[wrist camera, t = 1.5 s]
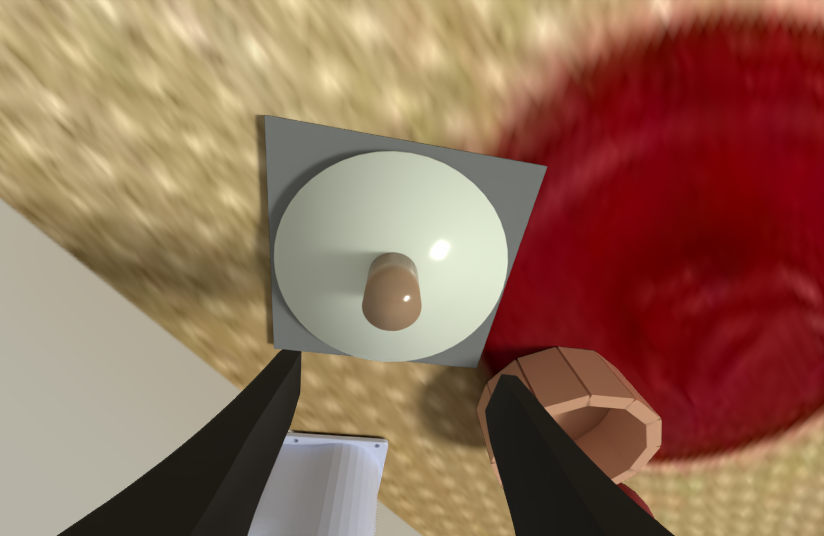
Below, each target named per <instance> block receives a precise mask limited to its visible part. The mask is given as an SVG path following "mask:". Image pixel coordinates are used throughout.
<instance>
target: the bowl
mask: <svg viewBox="0 0 824 536" xmlns="http://www.w3.org/2000/svg"><path fill="white" fill-rule="evenodd" d="M517 359H518V361H516V360H514V361H513V362H511V363H510V364H509V365H508V366H506V367H505V368H504V369H503V370H501V371H500V372H499V373H498V374H497V375H495V376H494V377H493V378H492V379H490V380H489V381H488V384H486V385H485V388H484V390H483V393H482V396H481V398H480V401H479V403H478V406H477V414H478V418H479V421H480V425H481V429H482V432H483V436H484V440H485V443H486V447H487V451H488V454H489V458H490V462H491V465H492V467H493V470H494V472H495V474H496V477H497V479H498V481H499V484H500V485H501V487H503V486H502V482H501V479H500V475H499V472H498V468H497V465H496V461H495V458H494V454H493V451H492V447H491V443H490V439H489V434H488V428H487V422H486V415H485V409H486V407H487V405H488V402H489V400H490V398H491V396H492V394H493V391H494V389H495V387H496V385H497V382H498V380H499V378H500V376H501V374H507V375H516V376H518V378H519V379H520V380H521V381H522V382H523V383H524V384H525V385H526V387H527V388H528V389H529V390H530V391H531V393H532V394H533V395H534V396H535V397H536V399H537V400H538V401H539V402H540V403H541V404H542V406H543V407H544V408H545V409H546V410H547V411H548V413H549V414H550V415H551V416H552V417H553V418H554V420H555V421H556V422H557V423H558V424H559V425H560V426H561V428H562V429H563V430H564V431H565V432H566V433H567V434H568V435H569V437H570V438H571V439H572V440H573V441H574V442H575V443H576V444H577V445H578V446H579V447H580V448H581V449H582V451H583V452H584V453H585V454H586V455H587V456H588V457H589V458H590V459H591V460H592V461H593V462H594V463H595V464H596V465H597V466H598V467H599V468H600V469H601V470H602V471H603V472H604V473H605V474H606V475H607V476H608V477H609V478H610V479H611V480H612V481H613V482H614V483H615V484H616V485H617V484H619V483H620V482H622V481H624V480H626V479H628V478H629V477H631V476H633V475H635V474H637V473H638V472H637V471H640V470H641V469H642V468H643V467H644V466H645V465H646V463H647V462H648V461H649V460H650V459H651V457H652V456H653V455H654V454H655V453H656V451H657V450H658V449H659V448H660V445H661V419H660V417H659V416H658V415H657V413H656V412H655V411H654V410H653V409H652V408H651V407H650V405H649V404H648V403H647V402H646V401H645V400H644V399H643V398H642V396H641V395H640V394H639V393H638V392H637V391H636V390H635V389H634V387H633V386H632V385H631V384H630V383H629V382H628V381H627V380H626V378H625V377H624V376H623V375H622V374H621V373H620V372H619V370H618V369H617V368H615V367H614V366H613V365H612V364H611V363H609V362H608V361H607V360H606V359H604V358H603V357H602V356H601V355H600V354H598V353H597V352H594V351H593V350H583V349H574V348H565V347H558V348H557V349H556V347H554V348H550V349H547V350H544V351H540V352H537V353H534V354H530V355H527V356H524V357H520V358H517Z"/></svg>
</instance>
